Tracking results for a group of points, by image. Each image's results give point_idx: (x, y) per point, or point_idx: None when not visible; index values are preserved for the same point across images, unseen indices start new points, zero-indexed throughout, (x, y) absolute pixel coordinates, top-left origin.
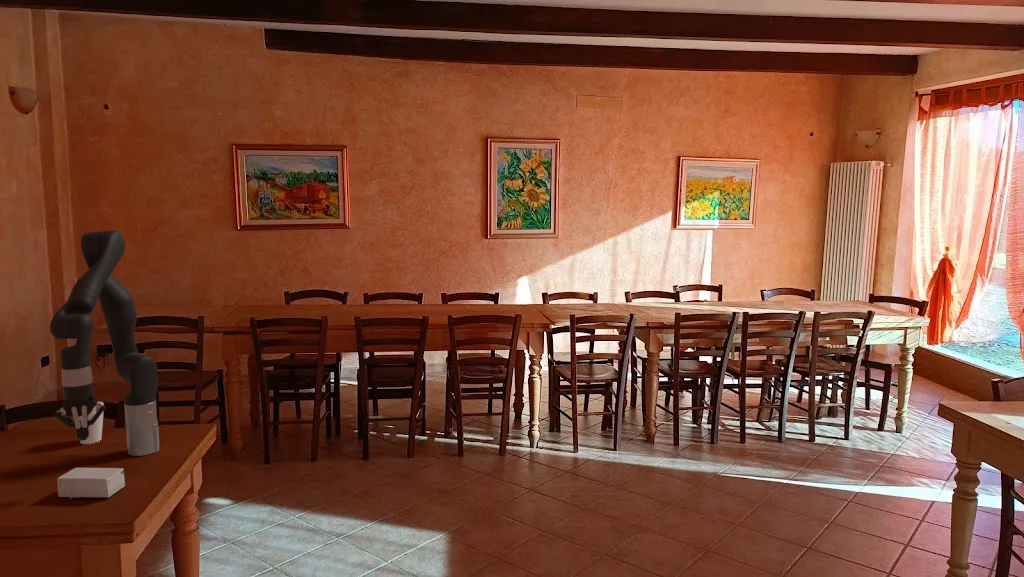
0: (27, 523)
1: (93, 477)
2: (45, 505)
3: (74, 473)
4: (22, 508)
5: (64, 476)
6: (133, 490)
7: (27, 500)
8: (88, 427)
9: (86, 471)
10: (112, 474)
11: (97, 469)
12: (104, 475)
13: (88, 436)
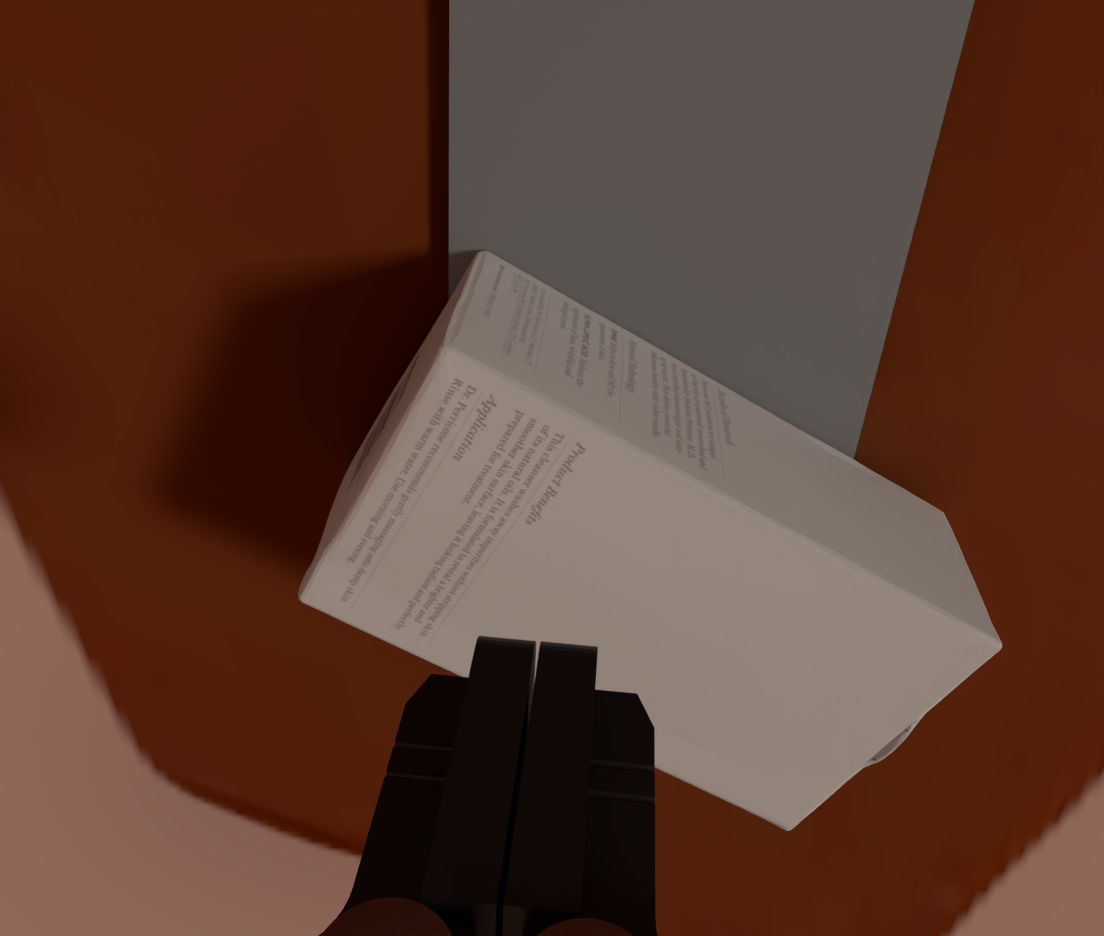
0: (257, 784)
1: (674, 750)
2: (282, 554)
3: (463, 570)
4: (109, 530)
5: (365, 586)
6: (993, 581)
7: (73, 368)
8: (653, 916)
9: (594, 583)
10: (861, 756)
11: (718, 572)
12: (782, 754)
13: (634, 708)
